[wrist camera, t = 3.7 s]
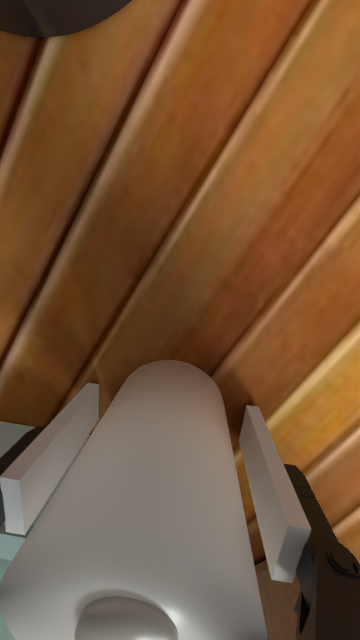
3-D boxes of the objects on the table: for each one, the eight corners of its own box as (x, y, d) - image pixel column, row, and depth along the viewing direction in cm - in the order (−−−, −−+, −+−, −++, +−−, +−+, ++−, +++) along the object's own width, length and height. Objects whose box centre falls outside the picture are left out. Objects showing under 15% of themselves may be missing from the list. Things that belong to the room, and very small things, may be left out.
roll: (120, 352, 14) (-27, 518, 5) (232, 367, 13) (304, 577, 4) (116, 444, 15) (4, 692, 6) (215, 460, 15) (241, 745, 6)
